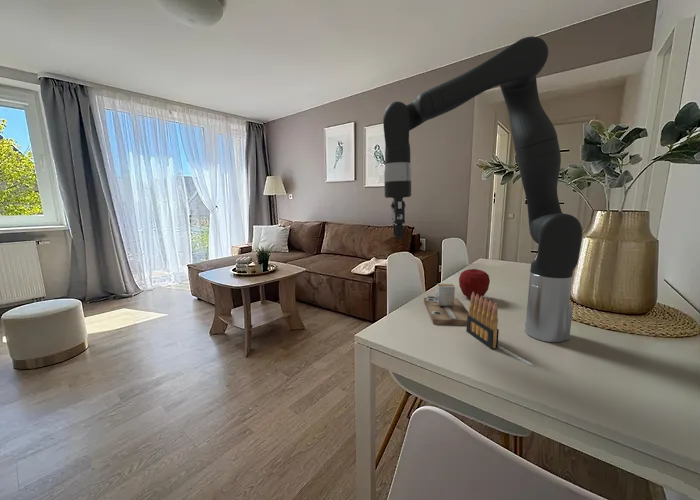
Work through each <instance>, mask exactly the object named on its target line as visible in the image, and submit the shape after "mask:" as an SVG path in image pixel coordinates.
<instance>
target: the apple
mask: <svg viewBox="0 0 700 500" xmlns="http://www.w3.org/2000/svg"><path fill="white" fill-rule="evenodd" d="M459 275H460V276H459V278H458V284H459V288H460V291H461V292H462V293H461V294H462V295H463V296H464V297H465V298H467V299H470V300H471V295H472V293H473V292H474V293H475V297H476V295H477V294H478V295H479V300H480V297H481V296H483V297H484V296H485V295H486V293H487V292H488V291H489V287H490V283H491V279H490V275H489V274H488V273H487V272H486V271H484V270H481V269H476V268H471V269H466V270H464V271H462V272H461V273H460V274H459Z"/></svg>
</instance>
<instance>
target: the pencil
mask: <svg viewBox="0 0 700 500" xmlns="http://www.w3.org/2000/svg"><path fill="white" fill-rule="evenodd" d="M497 349H499V350H501V351H503V352H504V353H506V354H508V355H509V356H511V357H514V358H515V359H517V360H519V361H520V362H523V363H524V364H526V365H528V366H529V367H534V368H535V366H534V364H533V363H532V362H530V361H528V360H526V359H524V358H523V357H520V356H519V355H517V354H516V353H513V352H512V351H510V350H508V349H506V348H505V347H503V346H501V345H499V344H498V348H497Z"/></svg>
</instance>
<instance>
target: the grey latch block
mask: <svg viewBox="0 0 700 500" xmlns="http://www.w3.org/2000/svg"><path fill="white" fill-rule="evenodd" d="M455 291H456V287H455V285H454V284H453V283H436V294H437V301H431V300H430V303H438V305H439V306H454V298H455V293H456V292H455Z"/></svg>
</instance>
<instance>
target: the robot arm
mask: <svg viewBox="0 0 700 500" xmlns="http://www.w3.org/2000/svg"><path fill="white" fill-rule="evenodd" d="M548 57H549V47H548V44H547V43H546V41H545V40H544V39H542V38H541V37H538V36H532V35H531V36H526V37H522V38H521V39H519V40H517V41H515V42H513V43H512V44H511V45H509V46H508V47H506V48H504V49H503V50H501V51H500V52H499V53H496V54H495V55H493V56H492V57H491V58H489V59H487V60H486V61H484V62H482V63H481V64H478V65H477V66H475V67H472V68H471V69H469V70H467V71H465V72H463V73H462V74H459V75H457V76H455V77H453V78H451V79H448V80H446V81H445V82H443V83H440V84H439V85H438V84H437V85H436V86H434V87H433V86H432V87H431V88H429V89H427V90H425V91H423V92H421V93H420V94H418V95H417V97H416V99H415V100H413V101H411V102H409V103H407V104H405V103H404V102H402V101H393V102H391V103H389V104H388V105H387V106H386V108H385V109H384V112H383V116H382V123H383V136H384V143H385V144H384V145H385V146H384V147H385V148H384V162H385V163H384V164H385V165H384V177H383V179H384V197H385V198H386V199H392V201H391V204H390V211H391V213H390V214H391V221H392V225H393V226H392V228H393V230H392V231H393V237H394V238H395V240H403V239H404V226H405V222H406V220H405V219H406V207H407V206H406V202H405V200H403V199H404V198H410V197H411V196H412V167H411V145H410V131H412V130H413V129H415V128H417V127H419V126H420V125H422V124H423V123H425V122H427V121H429V120H432V119H435V118H437V117H439V116H442V115H445V114H446V113H448V112H451V111H453V110H455V109H457V108H458V107H460V106H462V105H464V104H465V103H467V102H469V101H470V100H472V99H473V98H475V97H477V96H478V95H480V94H482V93H484V92H486V91H488V90H490V89H493V88H495V87H498V86H499V88H500V91H501V93H502V96H503V99H504V102H505V104H506V108H507V111H508V116H509V117H508V118H509V124H510V129H511V136H512V141H513V147H514V151H515V152H514V153H515V157H516V162H517V166H518V169H519V174H520V178H521V183H522V187H523V191H524V195H525V199H526V205H527V215H528V216H527V218H528V227H529V234H530V236H531V239H532V240H533V241H534V242H535V243H536V244H538V247H537V255H536V258H535V260H533V261H532V262H531V263H530V269H529V283H528V295H527V305H526V306H527V307H526V315H525V317H526V318H525V327H524V332H525V333H526V335H528V336H529V337H531V338H534V339H536V340H539V341H543V342H547V343H548V342H549V343H561V342H564V341H570V336H571V327H572V319H573V318H572V317H573V311H574V306H573V305H572V303H570V302H571V291H572V284H573V283H572V281H573V275H574V270H575V268H576V267H577V265H578V263H579V257H580V252H581V247H582V242H583V241H582V240H583V228H582V224H581V222H580V220H579V219H578V218H577V217H575V216H573V215H572V214H568V213H563V211H562V208H561V205H560V201H559V196H558V183H559V182H558V181H559V176H560V172H561V165H562V164H561V163H562V160H561V159H562V156H561V149H560V144H559V139H558V134H557V131H556V128H555V126H554V125H553V122H552V120H551V119H550V118H549V116H548V114H547V113H546V111H545V110H544V108H543V106H542V105H541V104H542V103H541V101H540V97H539V91H538V84H537V83H538V82H537V76H538V75H539V73H540V72H541V71H542V70H543V68H544V67H545V65H546V63H547V60H548Z"/></svg>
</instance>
